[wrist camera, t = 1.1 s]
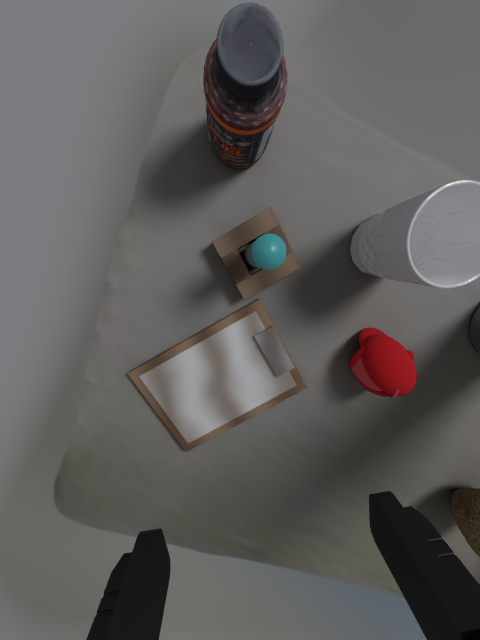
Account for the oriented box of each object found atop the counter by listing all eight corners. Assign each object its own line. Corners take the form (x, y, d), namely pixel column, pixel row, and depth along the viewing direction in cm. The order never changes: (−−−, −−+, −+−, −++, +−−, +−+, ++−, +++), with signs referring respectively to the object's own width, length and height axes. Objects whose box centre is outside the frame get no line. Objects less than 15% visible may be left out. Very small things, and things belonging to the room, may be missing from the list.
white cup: (336, 224, 28) (398, 202, 18) (403, 198, 28) (501, 163, 18) (353, 289, 29) (417, 302, 20) (416, 266, 29) (511, 267, 20)
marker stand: (267, 210, 27) (271, 206, 25) (295, 267, 28) (300, 267, 27) (212, 242, 27) (211, 241, 26) (243, 297, 29) (244, 299, 27)
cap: (418, 390, 29) (446, 360, 25) (383, 414, 28) (407, 385, 23) (365, 345, 35) (381, 314, 30) (333, 362, 33) (345, 332, 29)
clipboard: (258, 298, 29) (259, 300, 28) (305, 385, 32) (308, 389, 31) (129, 371, 30) (125, 375, 29) (186, 448, 33) (185, 455, 32)
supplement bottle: (200, 156, 25) (182, 73, 14) (221, 93, 24) (219, -49, 13) (254, 181, 26) (275, 121, 15) (276, 121, 25) (317, 10, 14)
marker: (259, 238, 27) (276, 227, 19) (271, 260, 28) (292, 258, 19) (238, 250, 28) (245, 244, 19) (250, 272, 28) (262, 275, 19)
